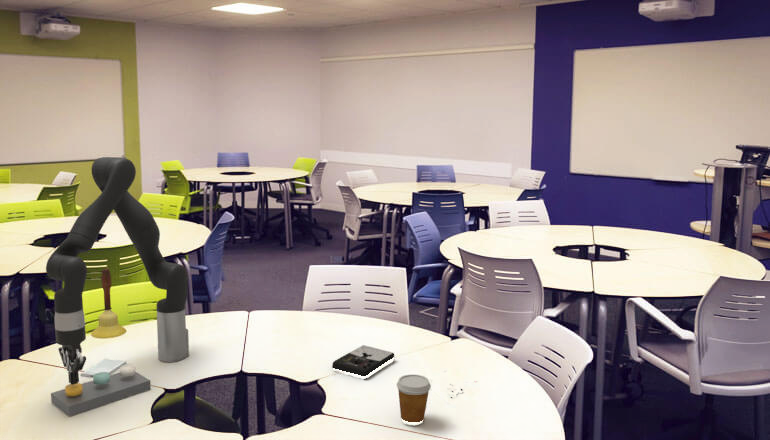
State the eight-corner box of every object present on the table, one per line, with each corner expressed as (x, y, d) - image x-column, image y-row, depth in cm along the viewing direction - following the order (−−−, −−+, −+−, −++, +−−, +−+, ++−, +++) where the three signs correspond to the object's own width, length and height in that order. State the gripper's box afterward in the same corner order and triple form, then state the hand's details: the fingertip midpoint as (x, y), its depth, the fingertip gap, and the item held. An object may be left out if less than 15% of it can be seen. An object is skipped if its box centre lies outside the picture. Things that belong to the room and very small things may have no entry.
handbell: (93, 328, 241) (90, 265, 237) (127, 326, 245) (125, 264, 241) (88, 339, 230) (85, 273, 225) (124, 337, 233) (122, 272, 229)
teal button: (105, 377, 188) (105, 370, 188) (112, 381, 185) (112, 375, 185) (90, 381, 185) (90, 375, 184) (97, 386, 182) (97, 379, 181)
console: (131, 377, 198) (130, 369, 198) (150, 389, 191) (150, 380, 190) (51, 402, 181) (50, 393, 180) (69, 416, 173) (68, 406, 172)
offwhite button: (131, 369, 194) (130, 363, 194) (138, 373, 191) (137, 367, 191) (117, 373, 191) (116, 367, 190) (124, 377, 188) (124, 371, 187)
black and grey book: (331, 372, 208) (331, 357, 208) (362, 354, 225) (363, 340, 224) (364, 381, 202) (365, 367, 201) (394, 362, 218) (395, 348, 217)
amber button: (78, 388, 182) (78, 381, 182) (85, 392, 179) (85, 386, 179) (62, 392, 179) (62, 386, 178) (69, 397, 176) (69, 391, 176)
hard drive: (104, 358, 211) (80, 373, 198) (126, 360, 209) (103, 375, 197) (104, 363, 211) (80, 377, 199) (126, 365, 209) (103, 380, 197)
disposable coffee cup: (427, 413, 181) (429, 373, 179) (430, 429, 172) (432, 388, 170) (394, 412, 181) (395, 373, 179) (396, 429, 171) (397, 388, 169)
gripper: (94, 327, 174) (97, 386, 177) (73, 316, 183) (77, 372, 186) (66, 334, 169) (70, 394, 172) (46, 322, 177) (50, 380, 180)
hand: (74, 383), depth 179 cm, fingers closed
